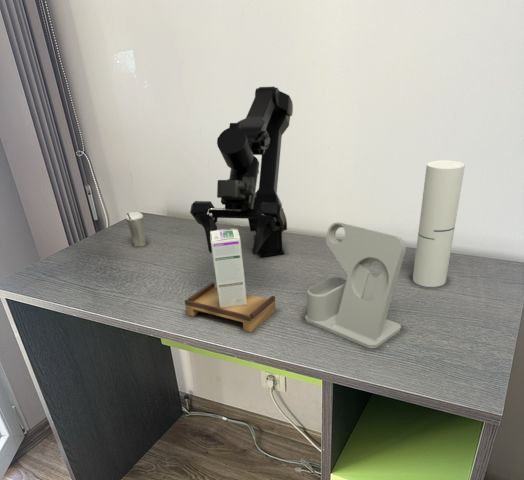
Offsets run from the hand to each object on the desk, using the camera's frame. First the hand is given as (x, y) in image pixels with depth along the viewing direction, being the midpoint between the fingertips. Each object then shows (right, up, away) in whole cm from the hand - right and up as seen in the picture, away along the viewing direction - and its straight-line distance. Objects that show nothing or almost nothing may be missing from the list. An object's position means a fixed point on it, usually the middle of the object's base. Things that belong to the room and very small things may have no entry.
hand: (231, 253), depth 99 cm
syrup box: (0, -10, +3) cm, 10 cm away
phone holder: (+24, -15, -2) cm, 28 cm away
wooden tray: (0, -12, +4) cm, 12 cm away
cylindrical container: (+44, -4, +12) cm, 45 cm away
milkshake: (-29, +10, +40) cm, 50 cm away
